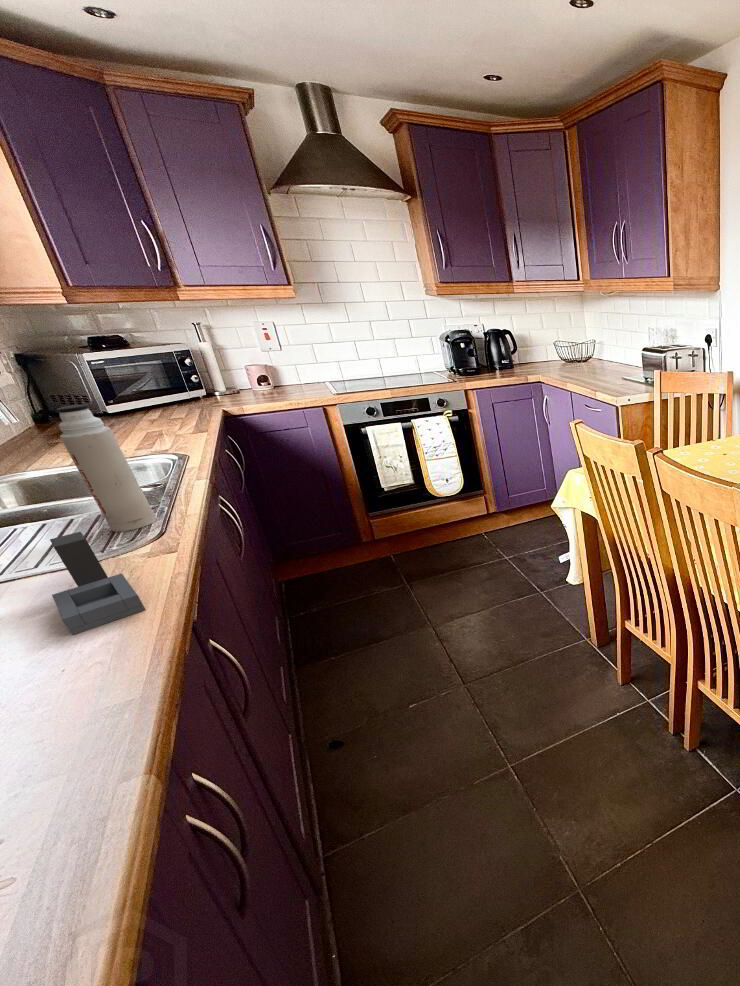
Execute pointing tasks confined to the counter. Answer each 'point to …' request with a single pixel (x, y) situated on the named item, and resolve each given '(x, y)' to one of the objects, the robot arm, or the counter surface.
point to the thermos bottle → (104, 469)
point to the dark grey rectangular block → (78, 558)
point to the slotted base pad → (97, 603)
